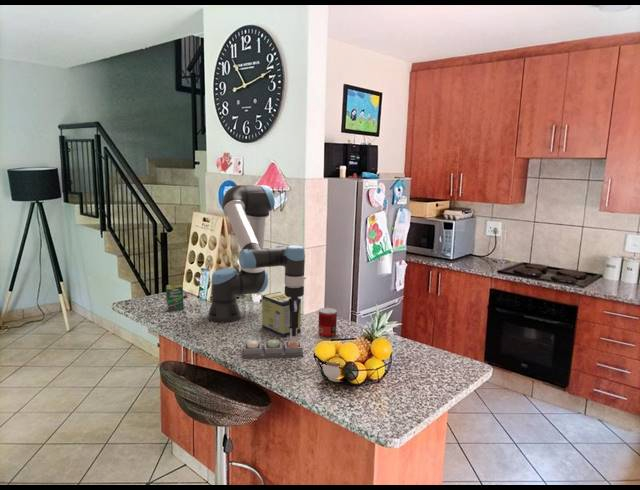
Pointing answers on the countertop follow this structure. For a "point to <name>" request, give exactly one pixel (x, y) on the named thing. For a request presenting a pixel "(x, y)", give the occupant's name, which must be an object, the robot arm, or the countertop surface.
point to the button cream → (252, 344)
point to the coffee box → (174, 297)
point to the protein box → (278, 314)
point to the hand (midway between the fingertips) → (293, 342)
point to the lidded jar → (332, 370)
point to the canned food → (327, 322)
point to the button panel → (273, 351)
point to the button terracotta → (293, 344)
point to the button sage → (273, 344)
